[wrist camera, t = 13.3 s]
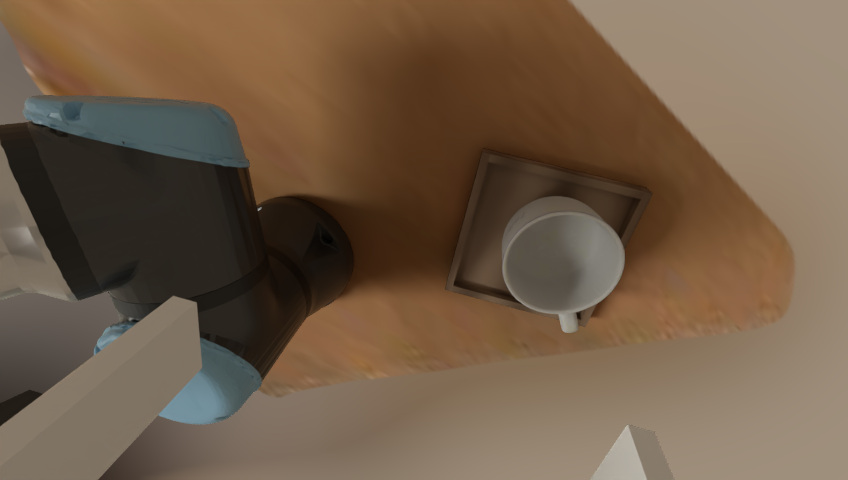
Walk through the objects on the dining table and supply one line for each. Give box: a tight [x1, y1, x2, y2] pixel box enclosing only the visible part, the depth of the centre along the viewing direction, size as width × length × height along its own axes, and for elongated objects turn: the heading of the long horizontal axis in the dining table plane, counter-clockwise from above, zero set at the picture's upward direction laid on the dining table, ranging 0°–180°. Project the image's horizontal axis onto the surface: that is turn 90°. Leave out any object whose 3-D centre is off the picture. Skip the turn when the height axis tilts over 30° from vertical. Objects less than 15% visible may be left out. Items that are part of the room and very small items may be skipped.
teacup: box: [502, 196, 625, 333], centre depth 40 cm, size 14×11×8 cm
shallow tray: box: [445, 148, 652, 327], centre depth 43 cm, size 17×17×2 cm
